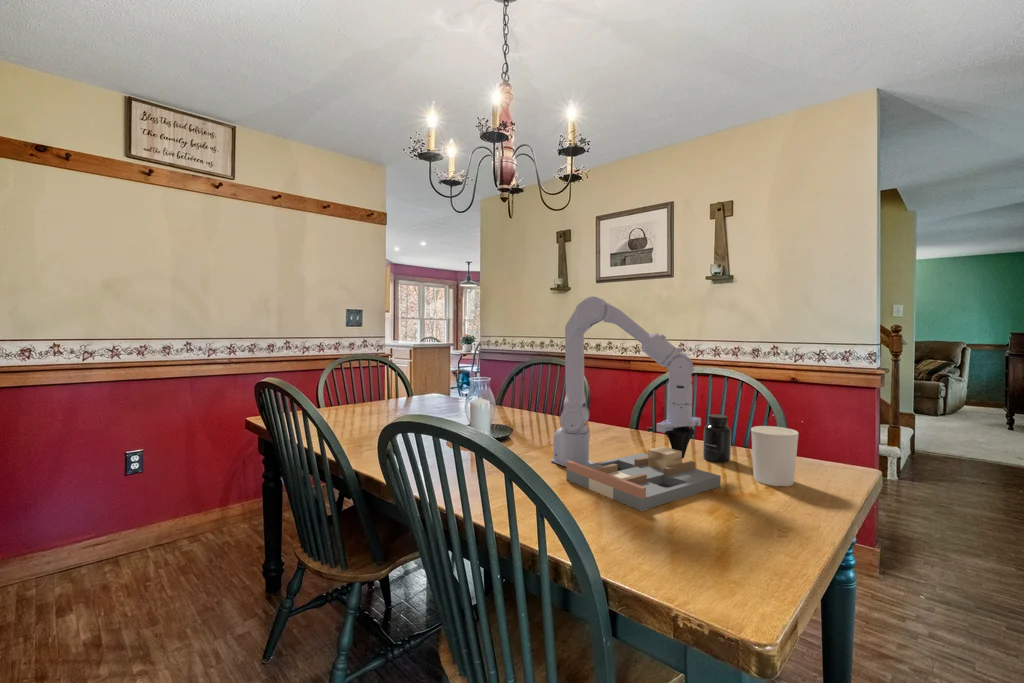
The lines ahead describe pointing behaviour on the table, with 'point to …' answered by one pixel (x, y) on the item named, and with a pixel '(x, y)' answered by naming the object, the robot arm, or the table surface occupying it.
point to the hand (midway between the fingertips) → (678, 457)
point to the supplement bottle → (717, 439)
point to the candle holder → (774, 455)
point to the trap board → (641, 480)
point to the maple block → (663, 457)
